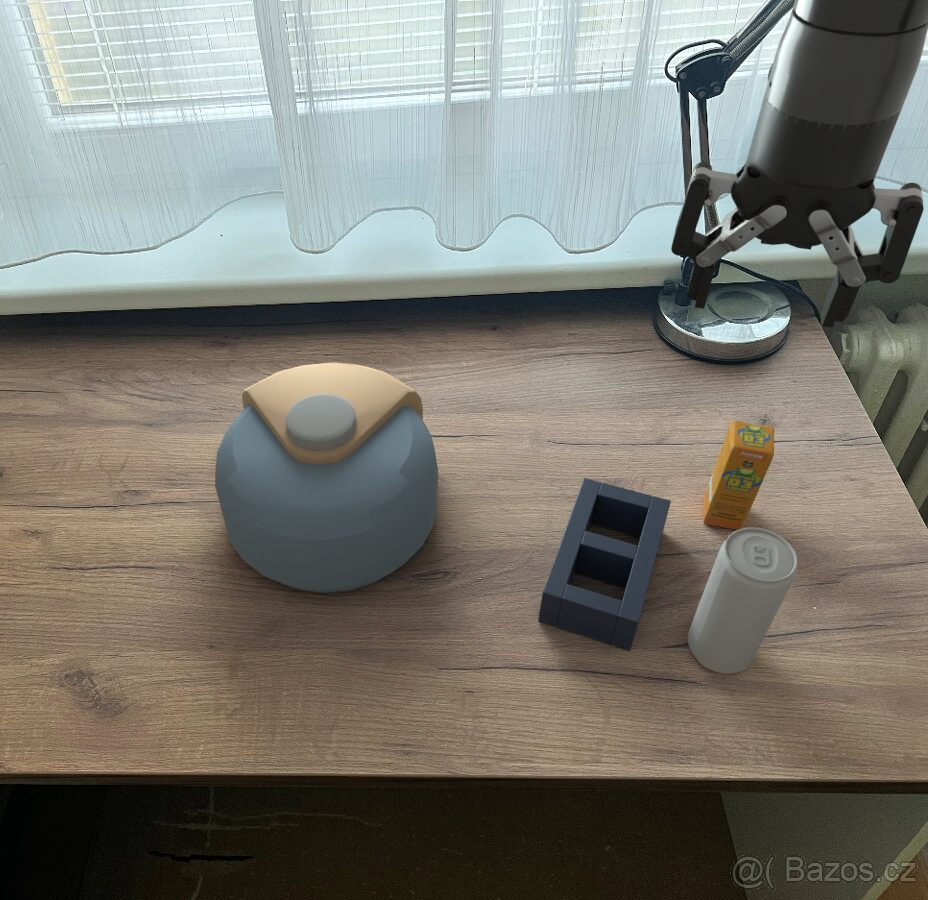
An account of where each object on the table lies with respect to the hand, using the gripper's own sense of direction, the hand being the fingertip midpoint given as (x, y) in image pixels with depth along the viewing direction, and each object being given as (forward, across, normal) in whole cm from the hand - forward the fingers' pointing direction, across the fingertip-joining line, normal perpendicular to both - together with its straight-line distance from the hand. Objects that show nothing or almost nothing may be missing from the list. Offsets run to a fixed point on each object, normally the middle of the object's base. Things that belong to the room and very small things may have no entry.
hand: (762, 311), depth 64 cm
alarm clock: (+20, -31, -12) cm, 39 cm away
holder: (+20, -7, -12) cm, 24 cm away
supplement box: (+20, +2, -2) cm, 20 cm away
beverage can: (+20, +3, -16) cm, 26 cm away
